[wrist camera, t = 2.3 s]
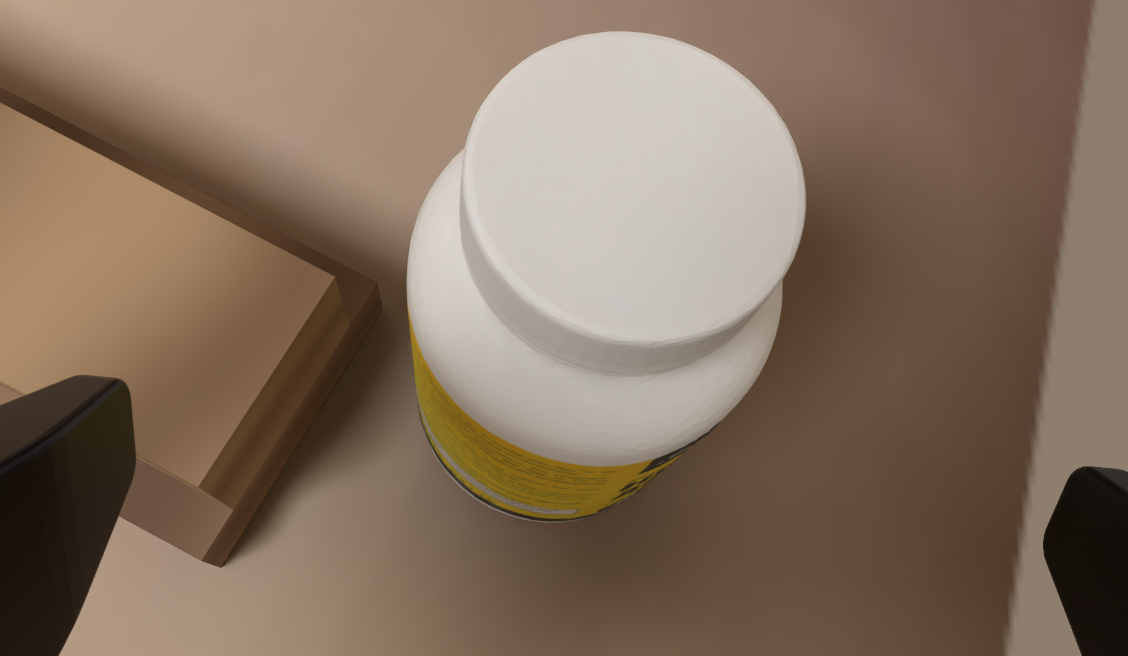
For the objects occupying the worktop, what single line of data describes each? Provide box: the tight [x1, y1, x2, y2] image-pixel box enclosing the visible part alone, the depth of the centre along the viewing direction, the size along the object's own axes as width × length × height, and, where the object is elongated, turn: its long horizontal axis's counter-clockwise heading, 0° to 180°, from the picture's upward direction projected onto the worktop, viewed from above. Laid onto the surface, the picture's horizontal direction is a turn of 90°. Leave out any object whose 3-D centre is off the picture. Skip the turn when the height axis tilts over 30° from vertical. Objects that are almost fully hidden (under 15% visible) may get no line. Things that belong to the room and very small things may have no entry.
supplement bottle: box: [407, 31, 806, 523], centre depth 15 cm, size 5×5×10 cm
